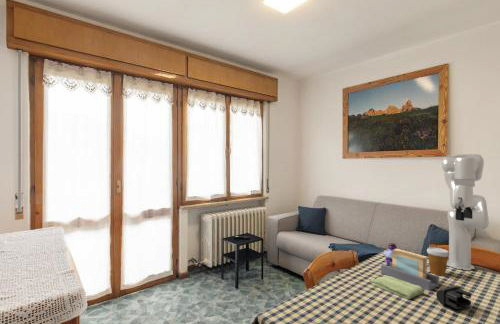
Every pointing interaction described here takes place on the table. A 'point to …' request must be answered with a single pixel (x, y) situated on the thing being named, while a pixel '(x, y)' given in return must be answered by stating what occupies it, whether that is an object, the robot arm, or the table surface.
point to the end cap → (454, 298)
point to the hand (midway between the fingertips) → (464, 219)
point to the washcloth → (398, 287)
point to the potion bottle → (389, 253)
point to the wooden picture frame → (410, 262)
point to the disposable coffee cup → (437, 260)
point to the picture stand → (411, 277)
